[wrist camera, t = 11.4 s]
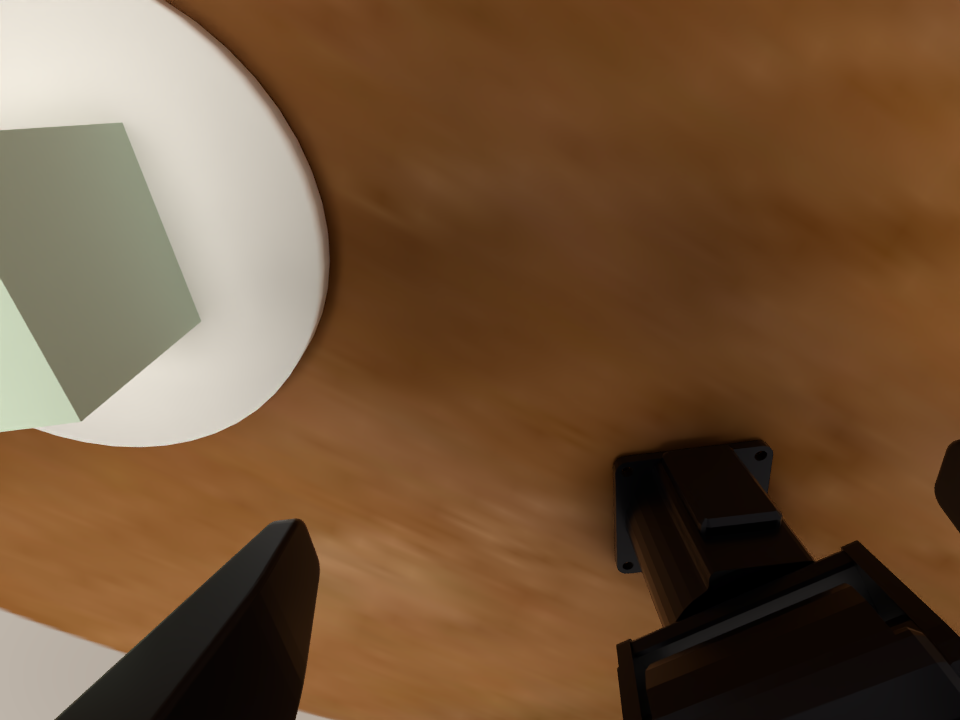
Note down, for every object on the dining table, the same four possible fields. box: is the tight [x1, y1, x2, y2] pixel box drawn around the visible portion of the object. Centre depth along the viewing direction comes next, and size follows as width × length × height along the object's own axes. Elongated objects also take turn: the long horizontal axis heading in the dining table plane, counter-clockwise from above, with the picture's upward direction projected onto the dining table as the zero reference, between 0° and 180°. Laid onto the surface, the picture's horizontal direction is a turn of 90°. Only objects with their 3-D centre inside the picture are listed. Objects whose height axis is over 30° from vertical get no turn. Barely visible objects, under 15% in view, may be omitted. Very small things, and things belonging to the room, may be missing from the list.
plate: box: [0, 0, 330, 447], centre depth 17 cm, size 15×15×2 cm
